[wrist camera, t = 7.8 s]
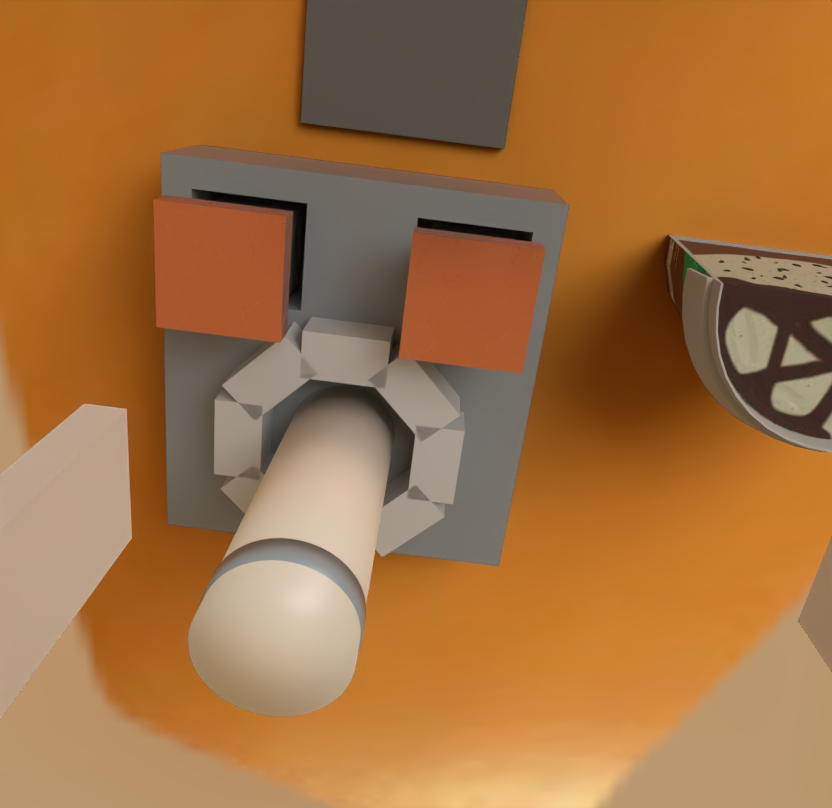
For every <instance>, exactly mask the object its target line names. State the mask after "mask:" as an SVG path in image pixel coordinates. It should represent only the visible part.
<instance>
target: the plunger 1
mask: <svg viewBox="0 0 832 808" xmlns="http://www.w3.org/2000/svg"><path fill="white" fill-rule="evenodd" d="M153 209H154V254H155V299H156V327H159V328H167V329H175V330H183V331H191V332H199V333H207V334H214V335H222V336H230V337H238V338H246V339H254V340H262V341H269V342H277V343H280V342H281V341H282V340H283V338H284V337H285V335H286V334H287V322H288V303H289V295H290V294H291V292H292V291H293V290H294V289H295V287H296V286H297V285H298V284H299V283H300V270H301V252H302V234H303V217H304V205H300V204H292V203H284V202H276V201H269V200H261V199H253V198H245V197H237V196H230V195H225V196H223V197H220V198H218V199H216V200H213V201H209V200H201V199H193V198H186V197H178V196H170V195H164V196H161V197H159V198H156V199H153Z"/></svg>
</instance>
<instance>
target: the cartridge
mask: <svg viewBox="0 0 832 808" xmlns="http://www.w3.org/2000/svg"><path fill="white" fill-rule="evenodd" d="M393 443H394V426H393V422H392V419H391V417H390V415H389V413H388V411H387V410H386V408H385V407H384V406H383V404H382V403H381V402H380V401H379V400H378V399H376V398H375V397H374V396H373V395H371V394H369V393H368V392H366V391H364V390H362V389H359V388H356V387H351V386H344V385H336V386H329V387H325V388H322V389H319V390H317V391H315V392H313V393H312V394H310V395H309V396H308V397H307V398H305V399H304V400H303V402H302V403H301V404H300V405H299V407H298V408H297V410H296V412H295V414H294V416H293V418H292V420H291V422H290V424H289V426H288V428H287V430H286V433H285V435H284V437H283V439H282V441H281V443H280V445H279V447H278V449H277V451H276V453H275V455H274V457H273V459H272V461H271V463H270V465H269V467H268V469H267V471H266V473H265V475H264V477H263V479H262V481H261V483H260V485H259V487H258V489H257V491H256V493H255V495H254V497H253V499H252V501H251V503H250V505H249V507H248V509H247V511H246V513H245V515H244V517H243V519H242V521H241V523H240V525H239V527H238V530H237V532H236V534H235V536H234V538H233V540H232V542H231V544H230V546H229V548H228V550H227V552H226V554H225V556H224V558H223V560H222V562H221V563H220V564H219V566H218V567H217V569H216V570H215V572H214V574H213V576H212V578H211V580H210V582H209V584H208V586H207V588H206V590H205V592H204V594H203V597H202V599H201V601H200V605H199V608H198V610H197V612H196V614H195V616H194V619H193V621H192V623H191V626H190V629H189V633H188V650H189V655H190V659H191V661H192V664H193V666H194V668H195V670H196V672H197V674H198V675H199V677H200V678H201V679H202V681H203V682H204V683H205V684H206V685H207V686H208V687H209V688H210V689H211V690H212V691H213V692H214V693H215V694H217V695H218V696H219V697H220V698H222V699H224V700H225V701H227V702H228V703H230V704H232V705H234V706H236V707H238V708H241V709H243V710H246V711H249V712H252V713H256V714H260V715H266V716H275V717H290V716H298V715H303V714H307V713H311V712H314V711H316V710H319V709H321V708H323V707H325V706H327V705H328V704H330V703H331V702H333V701H334V700H336V699H337V698H338V697H339V696H340V695H341V694H342V693H343V692H344V690H345V689H346V688H347V687H348V685H349V683H350V681H351V680H352V677H353V674H354V672H355V666H356V661H357V655H358V652H359V649H360V647H361V642H362V636H363V630H364V624H365V618H366V602H367V596H368V590H369V584H370V579H371V573H372V567H373V561H374V555H375V549H376V543H377V537H378V531H379V526H380V520H381V514H382V508H383V502H384V496H385V490H386V484H387V478H388V473H389V467H390V461H391V455H392V449H393Z"/></svg>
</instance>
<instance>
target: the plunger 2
mask: <svg viewBox="0 0 832 808" xmlns="http://www.w3.org/2000/svg"><path fill="white" fill-rule="evenodd" d="M545 251H546V249H545V248H544V246H543V244H542V243H537V242H529V241H521V240H514V237H513V235H512V233H511V232H510V231H503V230H495V229H487V228H479V227H471V226H464V225H456V224H448V223H440V222H433V224H432V229H427V228H420V227H415V228H414V231H413V238H412V247H411V255H410V264H409V273H408V281H407V290H406V299H405V307H404V316H403V325H402V333H401V342H400V351H399V358H403V359H411V360H418V361H426V362H434V363H442V364H450V365H458V366H466V367H473V368H481V369H489V370H497V371H505V372H513V373H520V374H522V373H523V368H524V362H525V357H526V352H527V346H528V341H529V336H530V330H531V325H532V320H533V315H534V309H535V304H536V299H537V293H538V288H539V283H540V277H541V272H542V267H543V261H544V256H545Z"/></svg>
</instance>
